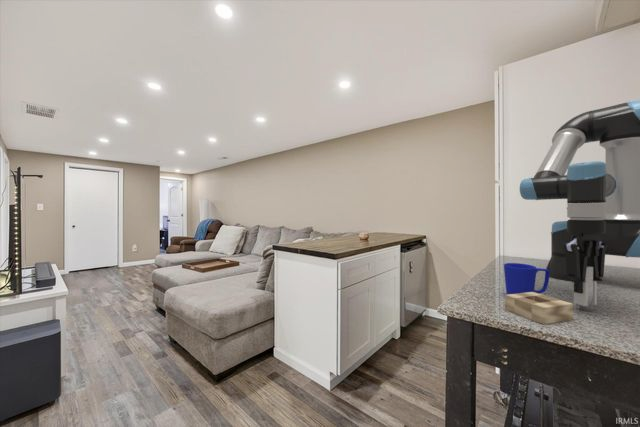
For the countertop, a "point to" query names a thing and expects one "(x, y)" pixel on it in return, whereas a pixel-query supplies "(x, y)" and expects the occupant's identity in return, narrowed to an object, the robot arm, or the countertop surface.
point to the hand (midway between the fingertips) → (585, 303)
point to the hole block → (539, 307)
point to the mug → (523, 278)
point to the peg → (590, 290)
